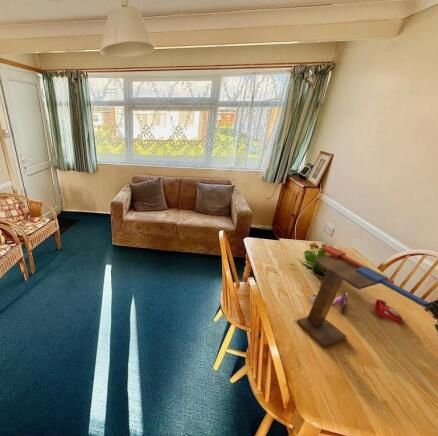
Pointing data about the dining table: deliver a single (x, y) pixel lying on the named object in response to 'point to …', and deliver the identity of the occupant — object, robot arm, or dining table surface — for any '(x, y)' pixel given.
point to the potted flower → (310, 256)
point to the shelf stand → (330, 298)
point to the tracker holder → (386, 311)
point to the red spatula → (345, 257)
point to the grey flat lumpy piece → (313, 298)
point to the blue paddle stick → (388, 284)
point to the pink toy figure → (341, 301)
